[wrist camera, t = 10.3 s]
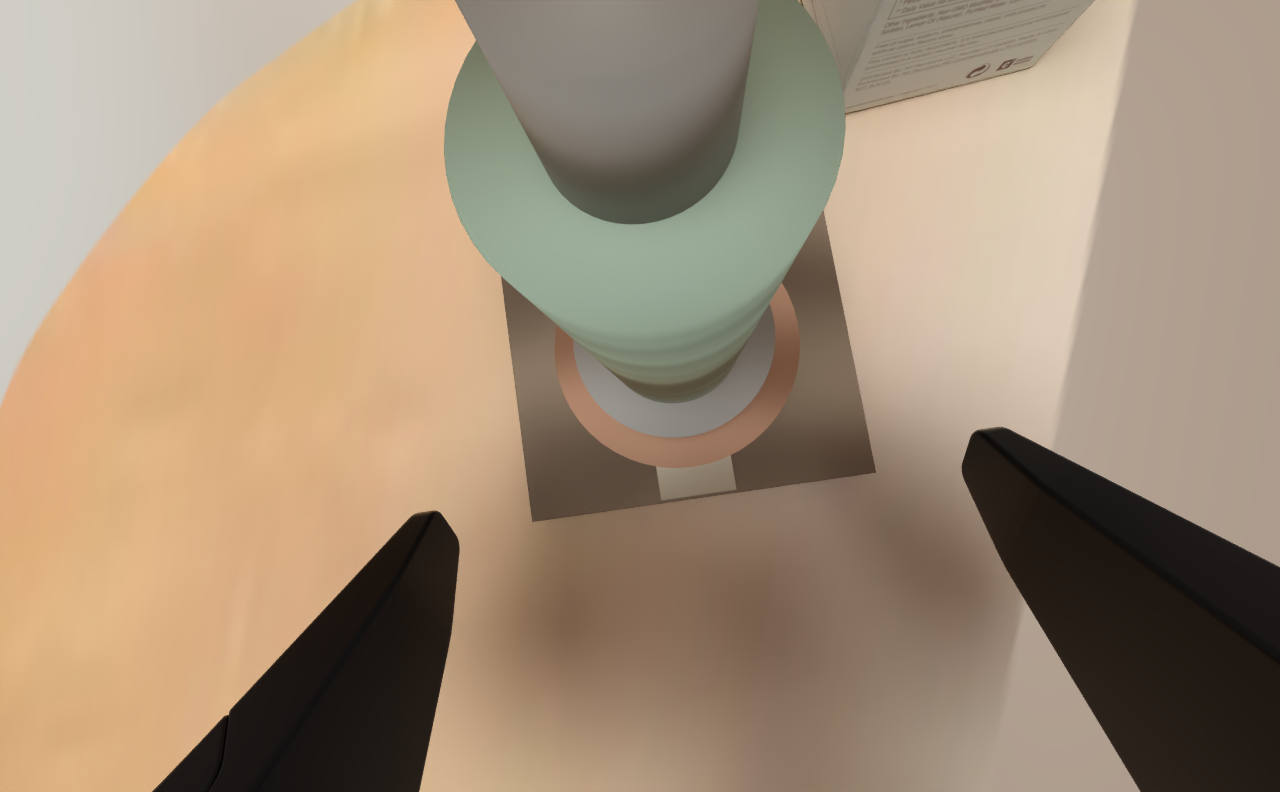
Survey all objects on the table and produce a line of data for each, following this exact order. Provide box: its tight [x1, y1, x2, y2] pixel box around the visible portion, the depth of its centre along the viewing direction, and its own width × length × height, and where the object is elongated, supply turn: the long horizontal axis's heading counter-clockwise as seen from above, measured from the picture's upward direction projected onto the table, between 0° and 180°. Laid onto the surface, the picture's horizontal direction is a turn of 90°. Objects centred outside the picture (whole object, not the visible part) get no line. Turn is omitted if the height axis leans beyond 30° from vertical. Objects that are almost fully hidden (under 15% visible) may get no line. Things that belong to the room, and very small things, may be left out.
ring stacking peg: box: [444, 0, 845, 438], centre depth 10 cm, size 6×6×14 cm
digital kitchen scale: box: [501, 211, 876, 522], centre depth 16 cm, size 14×11×4 cm
